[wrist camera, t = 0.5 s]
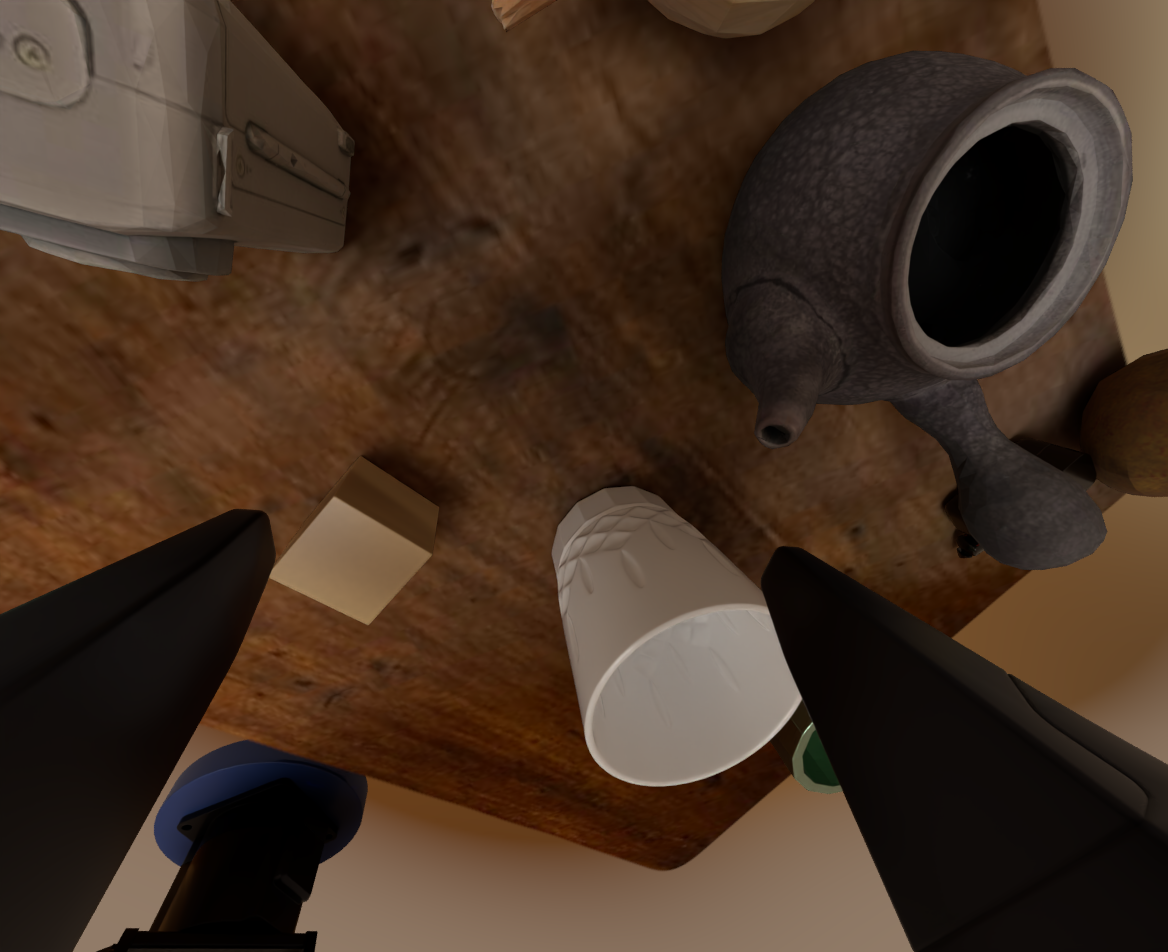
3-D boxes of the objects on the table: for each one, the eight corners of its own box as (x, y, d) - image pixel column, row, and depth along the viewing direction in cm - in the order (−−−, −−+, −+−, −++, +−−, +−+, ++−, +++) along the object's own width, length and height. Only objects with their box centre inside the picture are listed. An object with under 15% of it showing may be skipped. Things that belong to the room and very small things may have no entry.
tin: (738, 717, 32) (798, 815, 26) (721, 623, 27) (788, 715, 22) (853, 668, 32) (936, 752, 27) (853, 570, 28) (951, 645, 22)
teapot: (592, 274, 18) (711, 264, 9) (909, -1, 17) (1408, -325, 8) (780, 552, 26) (939, 691, 17) (1001, 382, 25) (1295, 437, 16)
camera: (-87, 165, 13) (-1398, -113, 4) (-125, -95, 11) (-2761, -1772, 2) (349, 297, 16) (202, 313, 7) (374, 117, 15) (220, -146, 6)
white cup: (656, 446, 22) (785, 560, 13) (703, 561, 25) (830, 714, 16) (512, 522, 22) (540, 691, 13) (579, 627, 25) (639, 818, 16)
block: (385, 567, 21) (368, 626, 17) (303, 522, 19) (265, 576, 16) (439, 507, 20) (433, 554, 17) (360, 455, 19) (333, 495, 15)
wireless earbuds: (926, 514, 28) (980, 541, 25) (1021, 431, 27) (1089, 449, 24) (951, 553, 30) (1004, 582, 27) (1040, 477, 29) (1105, 499, 26)
